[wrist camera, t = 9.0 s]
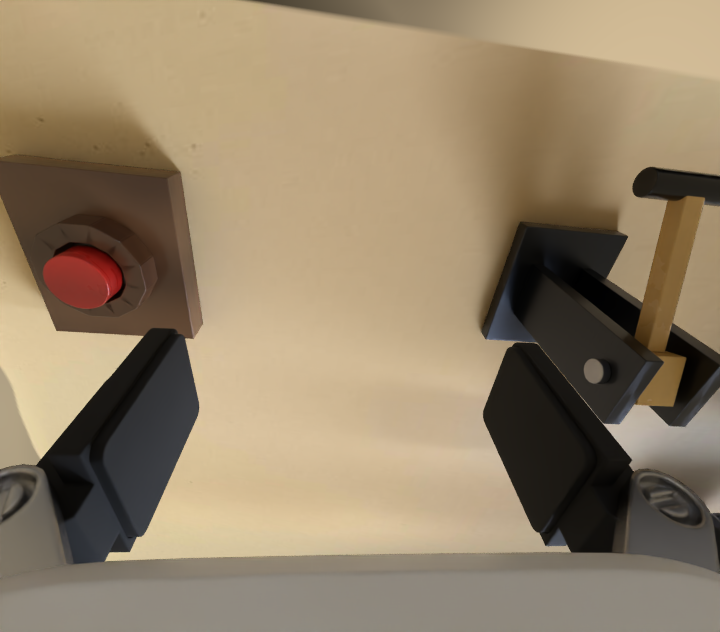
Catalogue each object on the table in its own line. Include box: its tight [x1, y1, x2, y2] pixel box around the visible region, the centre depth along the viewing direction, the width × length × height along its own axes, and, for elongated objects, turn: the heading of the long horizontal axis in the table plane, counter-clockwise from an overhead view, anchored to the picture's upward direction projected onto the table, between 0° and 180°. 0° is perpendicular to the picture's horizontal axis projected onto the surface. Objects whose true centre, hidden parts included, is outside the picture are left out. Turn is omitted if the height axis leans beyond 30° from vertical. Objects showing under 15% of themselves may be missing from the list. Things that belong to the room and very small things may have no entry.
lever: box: [632, 167, 720, 407], centre depth 19 cm, size 12×5×2 cm, turn 173°
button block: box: [0, 155, 203, 339], centre depth 24 cm, size 12×10×4 cm
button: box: [43, 246, 123, 309], centre depth 22 cm, size 4×4×2 cm
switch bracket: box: [481, 222, 720, 427], centre depth 24 cm, size 10×8×13 cm
